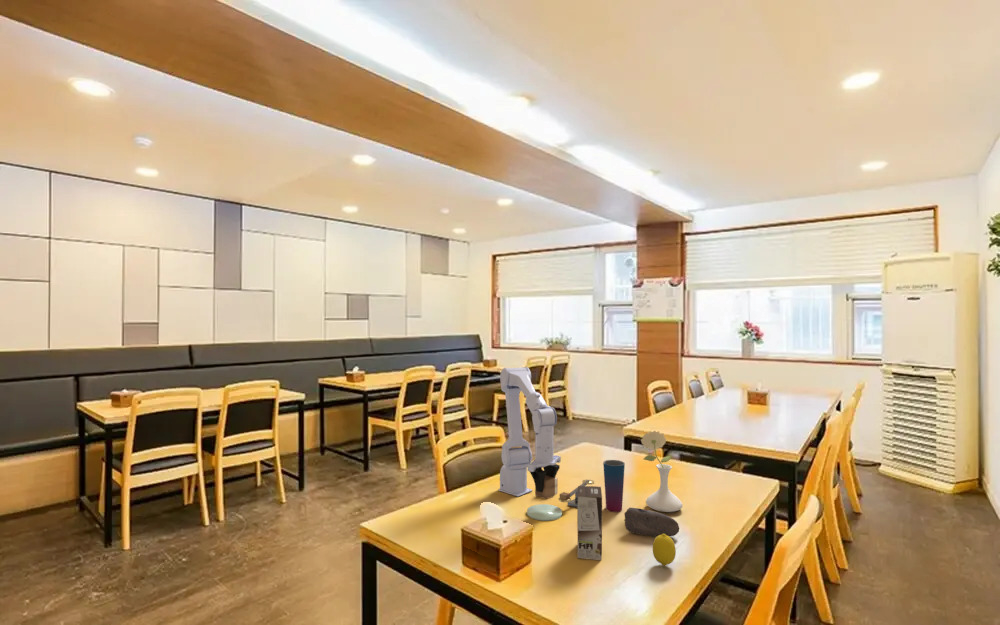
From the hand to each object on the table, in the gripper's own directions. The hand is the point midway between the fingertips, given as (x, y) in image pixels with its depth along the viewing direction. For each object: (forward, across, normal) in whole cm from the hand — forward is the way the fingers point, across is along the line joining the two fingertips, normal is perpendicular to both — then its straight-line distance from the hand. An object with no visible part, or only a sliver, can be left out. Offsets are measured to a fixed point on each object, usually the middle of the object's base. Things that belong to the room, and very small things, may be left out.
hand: (544, 489), depth 164 cm
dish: (+8, 0, 0) cm, 8 cm away
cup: (+8, +18, -14) cm, 25 cm away
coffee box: (+8, -12, -25) cm, 29 cm away
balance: (+8, +14, -3) cm, 16 cm away
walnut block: (+2, 0, 0) cm, 2 cm away
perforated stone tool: (+8, +8, -32) cm, 34 cm away
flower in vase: (+8, +30, -25) cm, 39 cm away
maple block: (+8, +16, +10) cm, 20 cm away
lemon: (+8, -6, -43) cm, 44 cm away
